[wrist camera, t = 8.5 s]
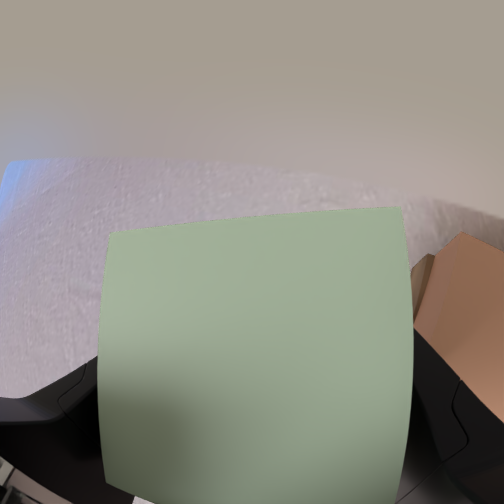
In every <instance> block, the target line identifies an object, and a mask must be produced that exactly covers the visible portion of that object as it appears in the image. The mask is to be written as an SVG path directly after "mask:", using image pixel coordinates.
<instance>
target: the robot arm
mask: <svg viewBox="0 0 504 504" xmlns="http://www.w3.org/2000/svg"><path fill="white" fill-rule="evenodd" d="M97 366H98V356H96V357H95V358H93V359H92V360H90V361H88V362H87V363H85V364H84V365H82V366H81V367H79V368H77V369H76V370H74V371H73V372H71V373H69V374H68V375H66V376H64V377H63V378H61V379H59V380H57V381H55V382H54V383H52V384H50V385H48V386H46V387H44V388H42V389H40V390H39V391H37V392H35V393H33V394H31V395H29V396H27V397H23V398H15V399H14V398H4V397H0V504H132V503H133V500H134V497H135V495H132V494H130V493H128V492H125V491H123V490H121V489H119V488H117V487H114V486H112V485H110V484H108V483H106V479H105V472H104V465H103V457H102V449H101V439H100V427H99V412H98V380H97ZM395 504H504V423H503V422H502V421H501V420H500V419H499V418H498V417H497V416H496V415H495V414H494V413H493V412H492V411H491V410H490V409H489V408H488V407H487V406H486V405H485V404H484V403H483V402H482V401H481V400H480V399H479V398H478V397H477V396H476V395H475V394H474V393H473V391H472V390H471V389H470V388H469V387H468V386H467V385H466V384H465V382H464V381H463V380H460V377H459V376H458V375H457V373H456V372H455V371H454V370H453V369H452V368H451V367H450V366H449V365H448V363H447V362H446V361H445V360H444V359H443V358H442V357H441V356H440V355H439V354H438V353H437V352H436V350H435V349H434V348H433V347H432V346H431V345H430V344H429V343H428V342H427V341H426V340H425V339H424V338H423V337H422V336H421V335H420V333H419V332H418V331H417V330H416V329H415V328H414V327H413V382H412V398H411V410H410V420H409V429H408V436H407V443H406V450H405V456H404V462H403V467H402V473H401V478H400V482H399V487H398V491H397V495H396V500H395Z"/></svg>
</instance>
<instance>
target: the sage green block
mask: <svg viewBox="0 0 504 504" xmlns="http://www.w3.org/2000/svg"><path fill="white" fill-rule="evenodd" d="M97 380H98V412H99V427H100V439H101V449H102V457H103V465H104V472H105V479H106V483H108V484H110V485H112V486H114V487H117V488H119V489H121V490H123V491H125V492H128V493H130V494H132V495H135V496H137V497H139V498H142V499H144V500H147V501H150V502H152V503H155V504H395V500H396V495H397V491H398V487H399V482H400V478H401V473H402V467H403V462H404V456H405V450H406V443H407V436H408V429H409V420H410V410H411V398H412V382H413V307H412V291H411V279H410V268H409V259H408V250H407V243H406V236H405V229H404V222H403V216H402V211H401V207H381V208H362V209H345V210H330V211H315V212H301V213H289V214H276V215H265V216H253V217H243V218H232V219H222V220H212V221H203V222H193V223H184V224H175V225H167V226H158V227H150V228H142V229H134V230H127V231H119V232H112V233H110V236H109V242H108V248H107V254H106V261H105V268H104V276H103V285H102V294H101V305H100V317H99V333H98V366H97Z"/></svg>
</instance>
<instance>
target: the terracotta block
mask: <svg viewBox="0 0 504 504" xmlns="http://www.w3.org/2000/svg"><path fill="white" fill-rule="evenodd" d="M413 327H414V328H415V329H416V330H417V331H418V332H419V333H420V335H421V336H422V337H423V338H424V339H425V340H426V341H427V342H428V343H429V344H430V345H431V346H432V347H433V348H434V349H435V350H436V352H437V353H438V354H439V355H440V356H441V357H442V358H443V359H444V360H445V361H446V362H447V363H448V365H449V366H450V367H451V368H452V369H453V370H454V371H455V372H456V373H457V375H458V376H459V377H460V380H463V381H464V382H465V384H466V385H467V386H468V387H469V388H470V389H471V390H472V391H473V393H474V394H475V395H476V396H477V397H478V398H479V399H480V400H481V401H482V402H483V403H484V404H485V405H486V406H487V407H488V408H489V409H490V410H491V411H492V412H493V413H494V414H495V415H496V416H497V417H498V418H499V419H500V420H501V421H502V422H503V423H504V252H503V251H501V250H499V249H497V248H495V247H493V246H491V245H489V244H487V243H485V242H483V241H481V240H479V239H476V238H474V237H472V236H470V235H468V234H466V233H464V232H460V233H459V234H458V235H457V236H456V237H455V238H454V239H453V240H452V241H451V242H450V243H448V244H447V245H446V246H445V247H444V248H443V249H442V250H441V251H440V252H439V253H437V254H436V255H435V259H434V262H433V266H432V270H431V273H430V276H429V280H428V283H427V286H426V290H425V293H424V296H423V299H422V302H421V305H420V308H419V311H418V313H417V316H416V319H415V322H414V324H413Z"/></svg>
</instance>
